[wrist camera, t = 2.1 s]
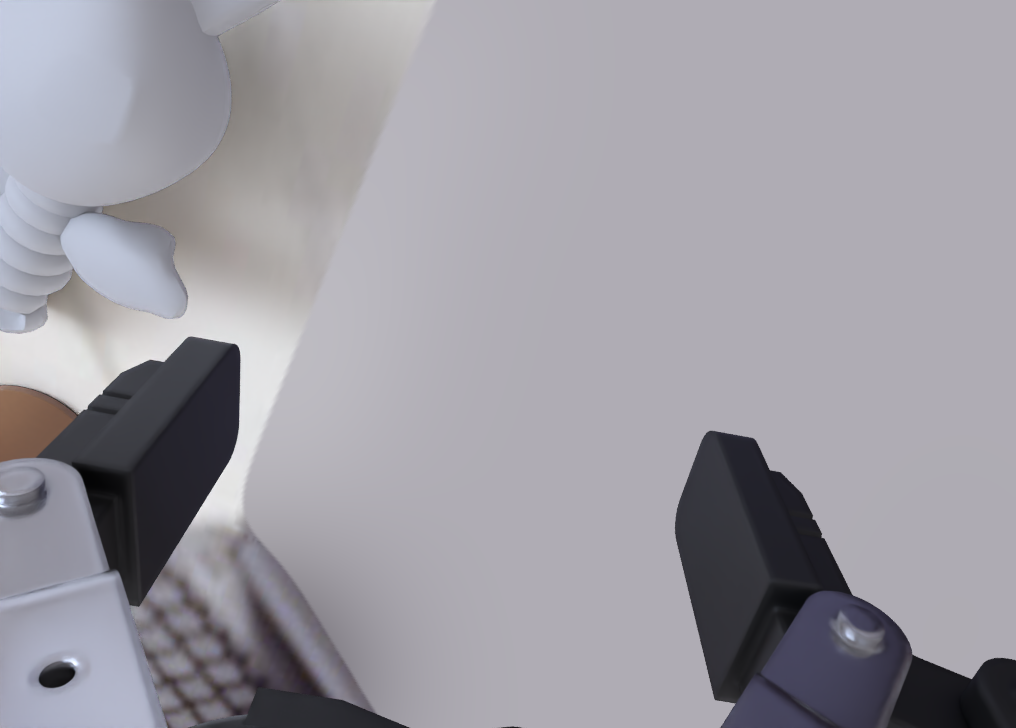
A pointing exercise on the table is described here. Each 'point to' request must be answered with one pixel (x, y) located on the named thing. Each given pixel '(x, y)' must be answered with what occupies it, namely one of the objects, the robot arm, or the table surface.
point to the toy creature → (103, 141)
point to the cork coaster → (29, 422)
